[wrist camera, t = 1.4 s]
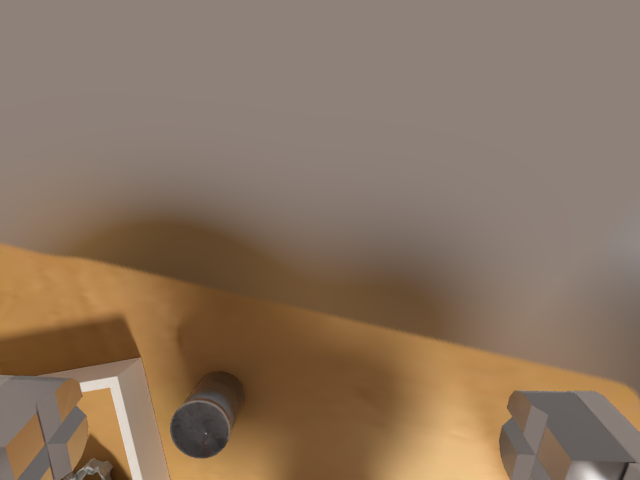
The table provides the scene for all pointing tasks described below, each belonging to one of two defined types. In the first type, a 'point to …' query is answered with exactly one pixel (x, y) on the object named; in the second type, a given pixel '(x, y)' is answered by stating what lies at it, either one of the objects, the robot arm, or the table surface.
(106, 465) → the egg carton
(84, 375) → the tote
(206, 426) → the metal tin
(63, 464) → the robot arm
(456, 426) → the table surface
